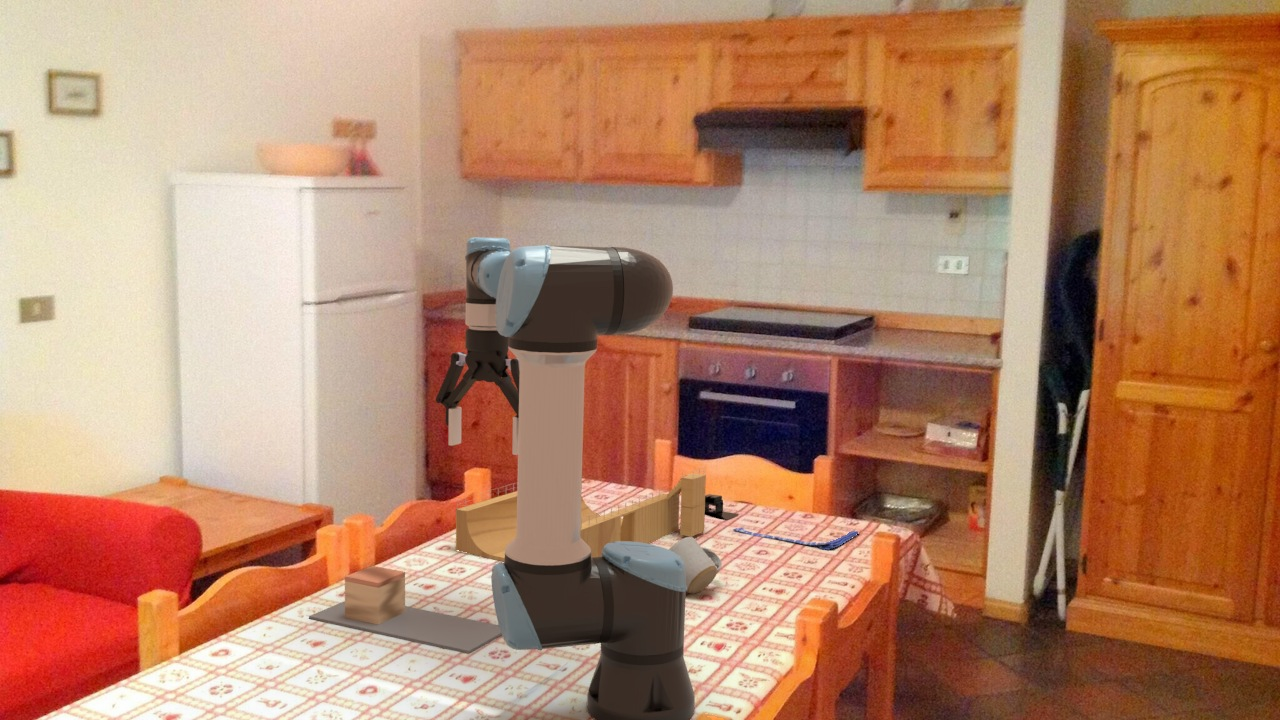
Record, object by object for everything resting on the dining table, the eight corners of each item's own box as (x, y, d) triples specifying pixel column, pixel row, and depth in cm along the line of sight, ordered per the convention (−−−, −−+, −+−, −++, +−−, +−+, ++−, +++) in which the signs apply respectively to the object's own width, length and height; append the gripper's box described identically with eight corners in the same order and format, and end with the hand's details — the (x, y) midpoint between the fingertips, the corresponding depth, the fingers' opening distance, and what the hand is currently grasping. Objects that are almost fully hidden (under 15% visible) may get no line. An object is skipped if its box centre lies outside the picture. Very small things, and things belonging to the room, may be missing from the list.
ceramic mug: (687, 603, 208) (692, 579, 202) (658, 572, 212) (663, 548, 206) (730, 575, 213) (736, 551, 207) (702, 545, 217) (707, 520, 212)
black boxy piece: (681, 515, 264) (681, 495, 264) (698, 510, 270) (698, 490, 270) (726, 521, 257) (726, 500, 257) (743, 515, 263) (743, 495, 262)
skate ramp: (568, 515, 264) (570, 447, 262) (703, 540, 246) (706, 467, 244) (455, 555, 230) (455, 477, 228) (602, 587, 212) (604, 502, 210)
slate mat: (469, 653, 176) (469, 650, 176) (309, 618, 190) (308, 616, 190) (510, 629, 187) (510, 627, 187) (356, 598, 201) (356, 596, 201)
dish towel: (830, 558, 235) (831, 544, 235) (730, 538, 249) (730, 525, 248) (863, 540, 250) (864, 527, 249) (767, 522, 263) (767, 510, 262)
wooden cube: (378, 624, 187) (378, 583, 186) (344, 617, 190) (344, 576, 189) (405, 612, 193) (405, 572, 193) (372, 605, 196) (372, 565, 196)
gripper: (560, 331, 194) (558, 453, 196) (443, 321, 205) (442, 437, 208) (536, 334, 187) (534, 461, 190) (416, 324, 199) (415, 443, 201)
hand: (486, 449), depth 199 cm, fingers open, 13 cm apart
